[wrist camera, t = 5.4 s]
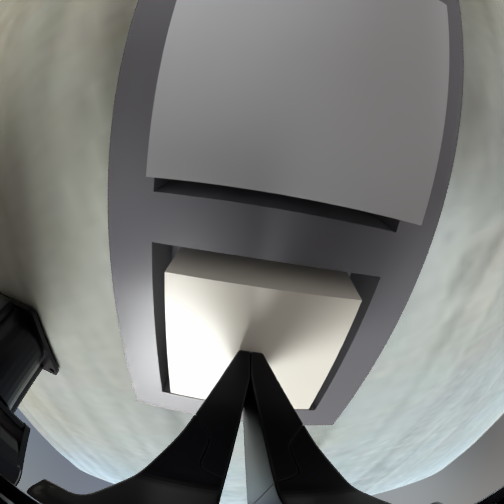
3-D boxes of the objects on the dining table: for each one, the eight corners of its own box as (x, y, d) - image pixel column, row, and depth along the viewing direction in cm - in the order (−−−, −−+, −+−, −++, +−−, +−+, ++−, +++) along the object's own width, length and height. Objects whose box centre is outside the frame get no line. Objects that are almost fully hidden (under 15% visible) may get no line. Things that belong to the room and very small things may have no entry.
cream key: (303, 371, 12) (308, 409, 10) (182, 355, 12) (170, 392, 10) (342, 265, 10) (362, 300, 8) (184, 241, 10) (164, 271, 8)
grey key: (381, 199, 7) (421, 225, 5) (179, 163, 7) (145, 176, 5) (406, 27, 5) (447, 4, 3) (213, -16, 5) (198, -58, 3)
